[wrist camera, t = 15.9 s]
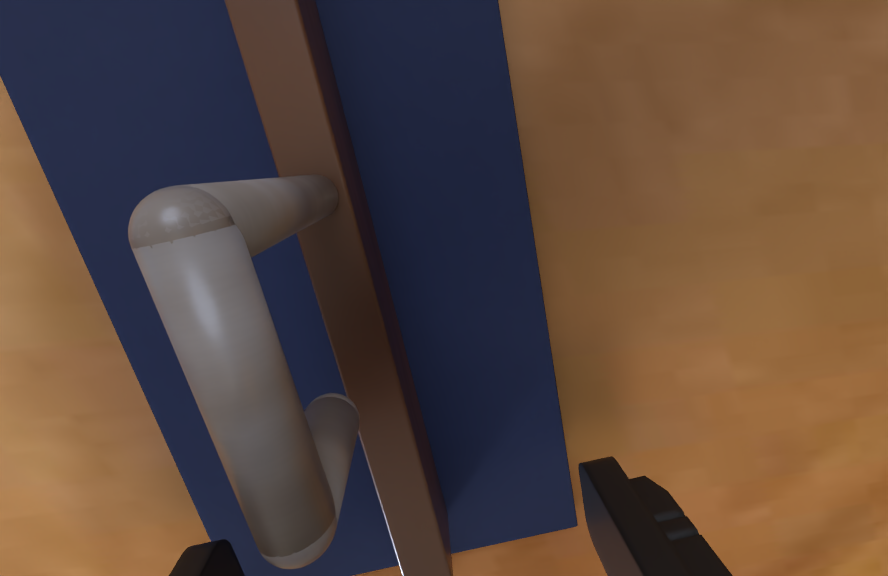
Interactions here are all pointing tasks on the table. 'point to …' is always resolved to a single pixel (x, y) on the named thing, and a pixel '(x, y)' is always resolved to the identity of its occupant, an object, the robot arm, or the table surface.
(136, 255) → the hanger
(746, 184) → the table surface
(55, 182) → the mat
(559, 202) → the table surface
